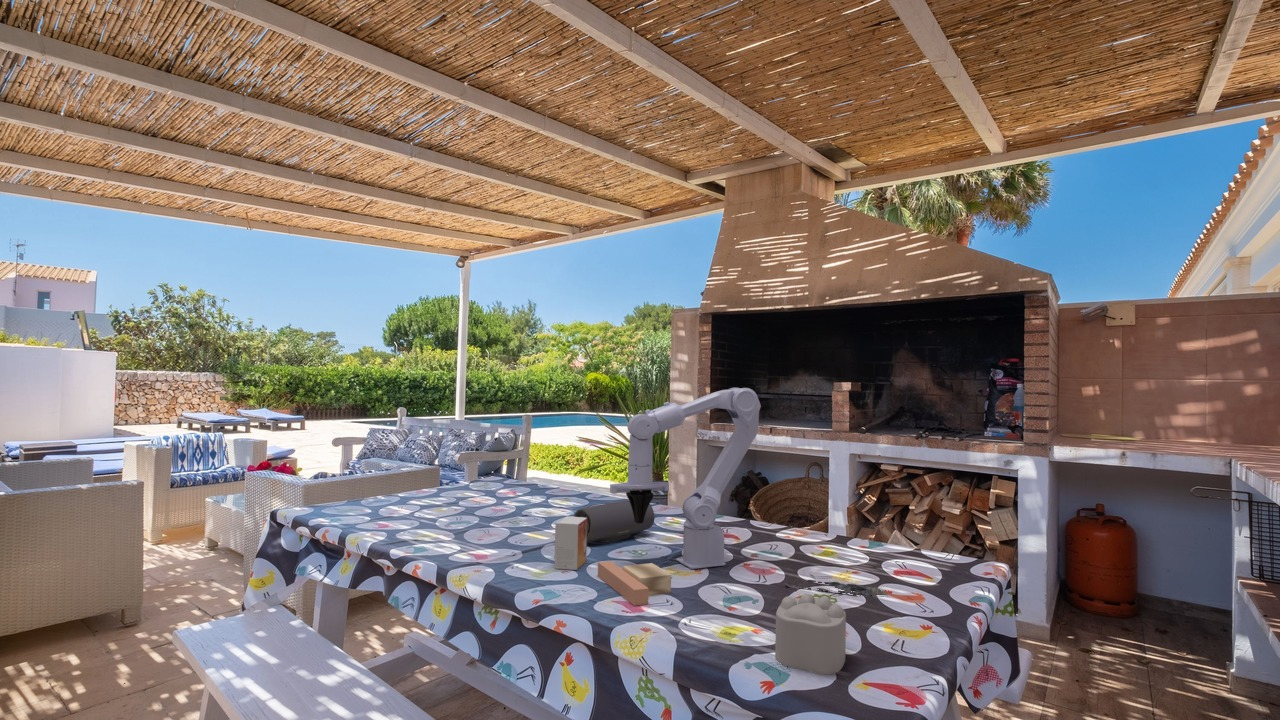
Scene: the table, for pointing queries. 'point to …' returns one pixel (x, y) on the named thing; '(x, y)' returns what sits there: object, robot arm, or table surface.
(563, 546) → the small box
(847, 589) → the driftwood
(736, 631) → the table surface
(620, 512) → the bluetooth speaker
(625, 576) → the terracotta batten
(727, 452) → the robot arm
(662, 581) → the beech block
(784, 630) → the lumpy-topped squat cylinder
